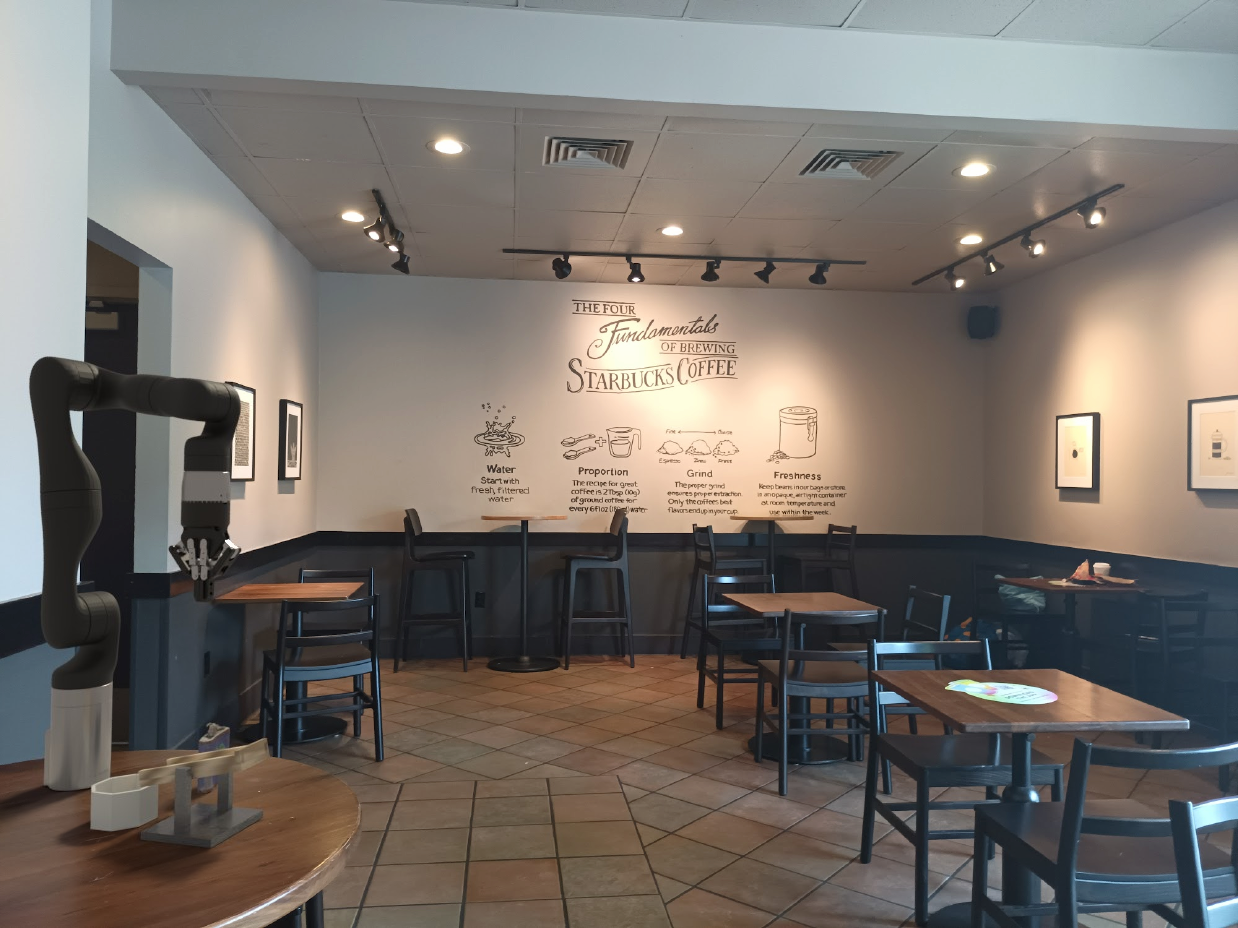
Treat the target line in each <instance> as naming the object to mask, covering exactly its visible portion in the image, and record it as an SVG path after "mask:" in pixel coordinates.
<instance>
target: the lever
mask: <svg viewBox="0 0 1238 928" xmlns="http://www.w3.org/2000/svg"><path fill="white" fill-rule="evenodd" d="M268 743H269V742H268V738H267V737H265V738H261V739H259V740H256V741H254V742H251V743H249V744H246V745H241V746H233V747H229V748H228V749H222V750H217V751H211V752H205V753H199V752H198V753H194V754H188V755H182V756H176V757H170V758H168V759H165V760H166V765H164V766H162V765H161V766H158V767H152V768H151V767H150V768H145V769H141V770H138V772H137V774H139V780H140V787H146V786H152V785H158V784H159V785H164V784H171V783H175V768H178V767H180V766H181V767H191V768H192V780H194V779H198V778H201V777H207V776H214V775H220V774H226V773H232V772H233V773H237V772H243V771H245V770H246V769H250V768H251V767H253V766H255V765H258V764H259V763H262V762H263V761H265V760H269V759H270V758H271V756H270V751H269V745H268Z"/></svg>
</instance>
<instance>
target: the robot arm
mask: <svg viewBox="0 0 1238 928" xmlns="http://www.w3.org/2000/svg"><path fill="white" fill-rule="evenodd" d="M28 379H29V381H28V382H29V383H28V384H29V385H28V387H29V388H28V389H29V391H28V393H29V400H30V405H31V413H32V418H33V423H34V429H35V436H36V442H37V443H36V445H37V453H38V454H37V455H38V467H39V468H38V469H39V471H38V472H39V502H40V504H39V505H40V515H41V516H40V517H41V528H42V546H43V547H42V550H43V554H42V555H43V556H42V557H43V558H42V561H43V564H42V565H43V568H42V569H43V571H42V588H41V589H42V590H41V601H40V602H41V604H40V605H41V607H40V623H41V629H42V630H41V632H42V634H43V637H44V640H45V642H46V643H47V644H48V645H49V647H51V648H53V649H55V650H64V649H72V648H77V647H78V651H77V652H76V653H75V655H74V656H73V657H72V658H71V659H69V660H68V661H66V662H64V663H63V664H61V665H60V666H58V667H56V669H55V668H54V670H53V672H52V674H51V679H50V680H51V682H50V684H51V685H50V689H51V691H50V692H51V693H50V728H48V729H46V730H45V733H44V765H43V766H44V768H43V770H44V771H43V786H48V788H49V789H51V790H53V791H59V792H61V791H62V792H63V791H64V792H65V791H66V792H67V791H68V792H69V791H77V790H78V791H79V790H84V789H89V788H90V789H91V785H93V784H96V783H98V782H101V781H103V780H106V779H108V778H111V762H112V761H111V759H112V758H111V757H112V730H113V729H112V728H113V727H112V726H113V725H112V723H113V721H112V720H113V683H114V682H113V679H114V673H115V669H116V666H117V665H118V657H119V655H118V654H119V644H120V636H121V635H120V634H121V633H120V632H121V610H120V606H119V603H118V601H117V599H116V598H115V597H114V595H113V594H111V593H110V592H107V591H103V590H102V591H101V590H100V591H99V590H98V591H90V592H89V591H88V592H80V593H78V572H79V568H80V564H81V561H82V559H83V556H84V554H85V552H86V550H87V548H88V547H89V545H90V543H91V542H92V540H93V538H94V536H95V535H96V533H97V531H98V530H99V527H100V525H101V522H102V519H103V502H102V501H103V500H102V499H103V498H102V486H101V480H100V478H99V476H98V473H97V471H96V469H95V468H94V466H93V465H92V463H91V462H90V460H89V458H88V457H87V456H86V454H85V453H84V451H83V450H82V448H81V446H80V445H79V443H78V441H77V439H76V437H75V434H74V431H73V427H72V419H71V412H88V411H90V412H91V411H100V410H108V409H120V410H121V409H122V410H128V411H131V412H134V413H137V414H138V413H139V414H142V415H148V416H149V415H150V416H156V417H157V416H158V417H164V418H175V419H181V420H185V421H193V422H201V423H202V422H203V423H204V426H203V428H202V431H201V433H200V435H197V436H192V437H189V438H187V439H186V441H185V443H184V448H183V472H182V473H183V475H182V481H181V490H180V491H181V493H180V497H181V498H180V525H181V527H182V528H183V530H182V533H181V534H180V540H179V541H178V542H177V543H176V544H174V545H169V546H168V552H169V554H170V555H171V557H172V559H173V560H174V561H175V563H176V565H177V567H178V568H179V569H180V571H181V573H182V574H183V575H184V576H189V577H191V578H192V579H193V597H194V599H195V602H196V603H209V602H211V601H212V599H213V598H214V595H215V579H216V578H218V577H221V576H225V575H226V574H227V572H228V570H230V568H231V566H232V565H233V563H234V562H235V561H236V560H237V558H238V557H239V555H240V553H242V548H241V546H239V545H238V546H237V545H234V543H232V542H231V536H230V533H229V532H228V529H229V526H230V525H231V499H232V498H231V497H232V496H231V494H232V493H231V492H232V489H231V488H232V485H231V477H230V476H231V475H230V464H231V463H230V462H231V461H230V457H231V452H230V451H231V446H232V443H233V440H234V437H235V433H236V430H237V428H238V424H239V420H240V417H241V411H242V403H241V402H242V401H241V397H240V395H239V392H238V391H237V390H236V388H235V387H234V386H232V385H231V384H230V383H226V382H220V381H219V382H218V381H213V380H208V379H207V380H206V379H201V378H192V377H174V376H168V375H161V374H160V375H158V374H151V373H149V374H148V373H147V374H146V373H139V374H138V373H137V374H123V373H118V372H115V371H112V370H109V369H106V368H103V367H100V366H97V365H96V364H92V363H90V362H86V361H83V360H77V359H70V358H64V357H57V356H43V357H41V358H39V359H38V360H37V361H36V362H35V363H34V364H33V366H32V367H31V370H30V373H29V378H28Z"/></svg>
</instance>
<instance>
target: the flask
mask: <svg viewBox="0 0 1238 928" xmlns="http://www.w3.org/2000/svg"><path fill="white" fill-rule="evenodd" d="M208 726H209V729H208V730H207V733H206V734H204V735H203V736H202V737H201V738H200V739H199V740H198V747H197V749H198V754H199V753H205V752H211V751H217V750H220V749H222V748H227V749H228V748H230V737H231V736H230V735H231V728H230V727H228V726H225V725H223V726H219V724H216V723H215V722H213V723H212V722H209V723H207V724H206V728H208ZM216 788H218V775H214V776H207V777H201V778H197V787H196V792H197V794H200V795H202V794H208V793H209V792H213V791H214V790H215V789H216Z"/></svg>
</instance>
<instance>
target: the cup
mask: <svg viewBox="0 0 1238 928" xmlns="http://www.w3.org/2000/svg"><path fill="white" fill-rule="evenodd" d="M159 785H160V784H158V785H152V786H146V787H140V780H139V774H138V773H132V774H126V775H119V776H110V778H108V779H106V780H103V781H101V782H98V783H96V784H93V785H91V787H90V791H91V792H90V818H89V819H90V830H97V831H98V830H99V831H105V832H115V831H121V830H127V829H132V828H133V829H134V828H137V827H141V826H143V825H145V824H147V823H149V822H151V821H153V820H155V819H157V818H159V817H158V815H159Z"/></svg>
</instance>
